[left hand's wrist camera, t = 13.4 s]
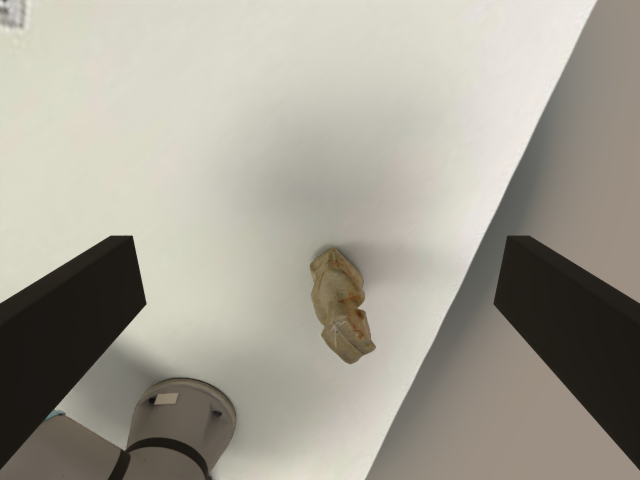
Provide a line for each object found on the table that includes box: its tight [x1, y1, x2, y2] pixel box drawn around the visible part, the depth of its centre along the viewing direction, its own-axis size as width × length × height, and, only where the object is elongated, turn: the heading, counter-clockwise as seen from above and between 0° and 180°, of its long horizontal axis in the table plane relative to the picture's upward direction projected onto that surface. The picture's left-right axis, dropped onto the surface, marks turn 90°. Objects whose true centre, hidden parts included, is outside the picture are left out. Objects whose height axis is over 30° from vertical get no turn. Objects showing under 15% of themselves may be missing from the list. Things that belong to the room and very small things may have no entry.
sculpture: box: [310, 248, 376, 364], centre depth 39 cm, size 6×7×15 cm
